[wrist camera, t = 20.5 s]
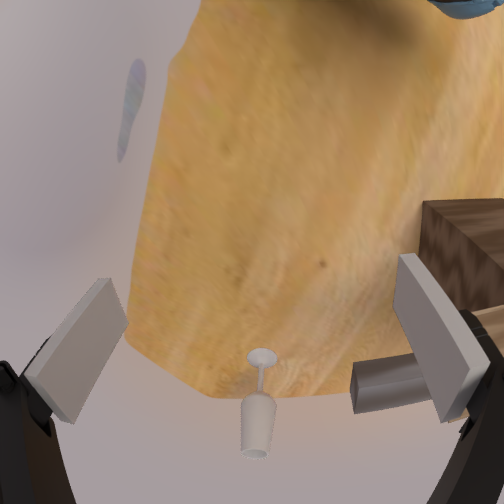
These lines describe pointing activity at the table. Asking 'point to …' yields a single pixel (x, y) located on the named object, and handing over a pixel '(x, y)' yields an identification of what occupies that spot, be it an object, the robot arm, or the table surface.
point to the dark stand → (465, 250)
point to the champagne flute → (258, 410)
